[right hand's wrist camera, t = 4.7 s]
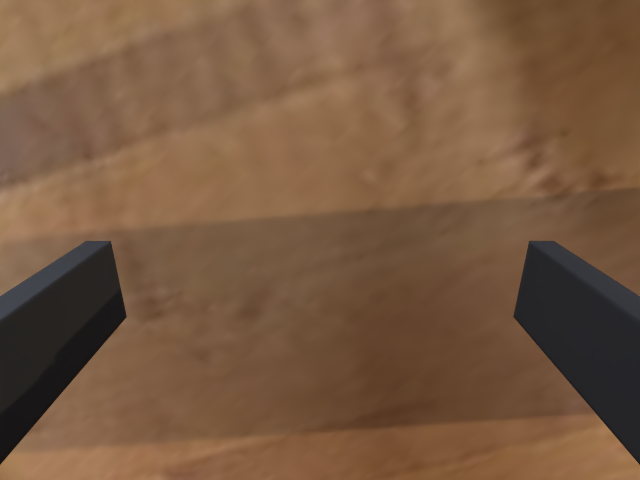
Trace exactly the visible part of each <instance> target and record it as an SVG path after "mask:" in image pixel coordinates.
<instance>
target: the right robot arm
mask: <svg viewBox="0 0 640 480" xmlns="http://www.w3.org/2000/svg"><path fill="white" fill-rule="evenodd" d="M126 317H127V316H126V312H125V307H124V302H123V297H122V293H121V288H120V283H119V278H118V274H117V269H116V264H115V259H114V255H113V250H112V245H111V241H86V242H84V243H83V244H81V245H79V246H78V247H76V248H75V249H73V250H72V251H70V252H69V253H67V254H65V255H64V256H62V257H61V258H59V259H58V260H56V261H55V262H53V263H51V264H50V265H48V266H47V267H45V268H44V269H42V270H41V271H39V272H38V273H36V274H34V275H33V276H31V277H30V278H28V279H27V280H25V281H24V282H22V283H20V284H19V285H17V286H16V287H14V288H13V289H11V290H10V291H8V292H6V293H5V294H3V295H2V296H0V464H1V463H2V462H3V461H4V460H5V458H6V457H7V456H8V455H9V454H10V453H11V451H12V450H13V449H14V448H15V447H16V446H17V444H18V443H19V442H20V441H21V440H22V439H23V437H24V436H25V435H26V434H27V433H28V432H29V430H30V429H31V428H32V427H33V426H34V424H35V423H36V422H37V421H38V420H39V419H40V417H41V416H42V415H43V414H44V413H45V412H46V410H47V409H48V408H49V407H50V406H51V405H52V403H53V402H54V401H55V400H56V399H57V398H58V396H59V395H60V394H61V393H62V392H63V391H64V389H65V388H66V387H67V386H68V385H69V384H70V382H71V381H72V380H73V379H74V378H75V377H76V375H77V374H78V373H79V372H80V371H81V370H82V368H83V367H84V366H85V365H86V364H87V363H88V361H89V360H90V359H91V358H92V357H93V355H94V354H95V353H96V352H97V351H98V350H99V348H100V347H101V346H102V345H103V344H104V343H105V341H106V340H107V339H108V338H109V337H110V336H111V334H112V333H113V332H114V331H115V330H116V329H117V327H118V326H119V325H120V324H121V323H122V322H123V320H124V319H125V318H126ZM513 317H514V318H515V319H516V320H517V322H518V323H519V324H520V325H521V326H522V327H523V329H524V330H525V331H526V332H527V333H528V334H529V336H530V337H531V338H532V339H533V340H534V341H535V343H536V344H537V345H538V346H539V347H540V348H541V350H542V351H543V352H544V353H545V354H546V355H547V357H548V358H549V359H550V360H551V361H552V363H553V364H554V365H555V366H556V367H557V368H558V370H559V371H560V372H561V373H562V374H563V375H564V377H565V378H566V379H567V380H568V381H569V382H570V384H571V385H572V386H573V387H574V388H575V389H576V391H577V392H578V393H579V394H580V395H581V396H582V398H583V399H584V400H585V401H586V402H587V403H588V405H589V406H590V407H591V408H592V409H593V410H594V412H595V413H596V414H597V415H598V416H599V417H600V419H601V420H602V421H603V422H604V423H605V424H606V426H607V427H608V428H609V429H610V430H611V432H612V433H613V434H614V435H615V436H616V437H617V439H618V440H619V441H620V442H621V443H622V444H623V446H624V447H625V448H626V449H627V450H628V451H629V453H630V454H631V455H632V456H633V457H634V458H635V460H636V461H637V462H638V463H639V464H640V296H638V295H637V294H635V293H634V292H632V291H630V290H629V289H627V288H626V287H624V286H623V285H621V284H620V283H618V282H616V281H615V280H613V279H612V278H610V277H609V276H607V275H606V274H604V273H602V272H601V271H599V270H598V269H596V268H595V267H593V266H592V265H590V264H589V263H587V262H585V261H584V260H582V259H581V258H579V257H578V256H576V255H575V254H573V253H571V252H570V251H568V250H567V249H565V248H564V247H562V246H561V245H559V244H557V243H556V242H554V241H529V245H528V250H527V255H526V259H525V264H524V269H523V274H522V278H521V283H520V288H519V293H518V297H517V302H516V307H515V312H514V316H513Z"/></svg>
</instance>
